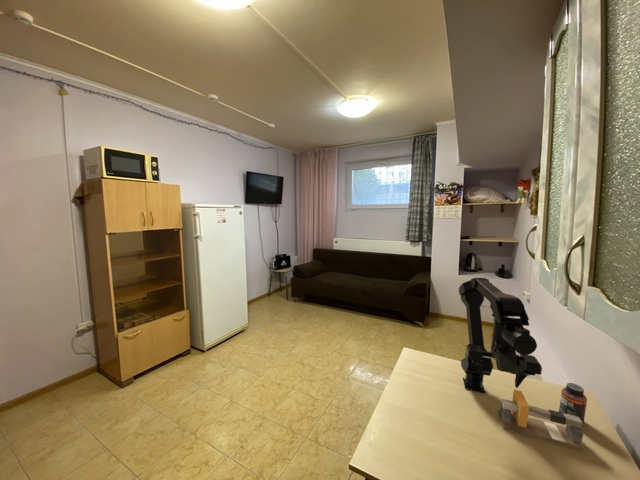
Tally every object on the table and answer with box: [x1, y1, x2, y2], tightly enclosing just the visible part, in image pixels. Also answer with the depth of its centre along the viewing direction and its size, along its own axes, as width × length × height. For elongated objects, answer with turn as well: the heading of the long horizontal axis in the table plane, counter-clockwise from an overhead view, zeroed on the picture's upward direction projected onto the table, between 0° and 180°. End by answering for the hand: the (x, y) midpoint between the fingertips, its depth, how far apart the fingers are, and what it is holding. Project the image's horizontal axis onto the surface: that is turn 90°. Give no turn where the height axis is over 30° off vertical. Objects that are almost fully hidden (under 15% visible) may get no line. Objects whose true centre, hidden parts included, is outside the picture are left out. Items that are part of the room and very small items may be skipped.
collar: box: [511, 389, 530, 427], centre depth 81 cm, size 7×2×7 cm, turn 158°
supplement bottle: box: [558, 382, 588, 425], centre depth 84 cm, size 6×6×11 cm
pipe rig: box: [497, 398, 585, 452], centre depth 80 cm, size 7×19×7 cm, turn 68°
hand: (498, 382), depth 82 cm, fingers open, 9 cm apart
